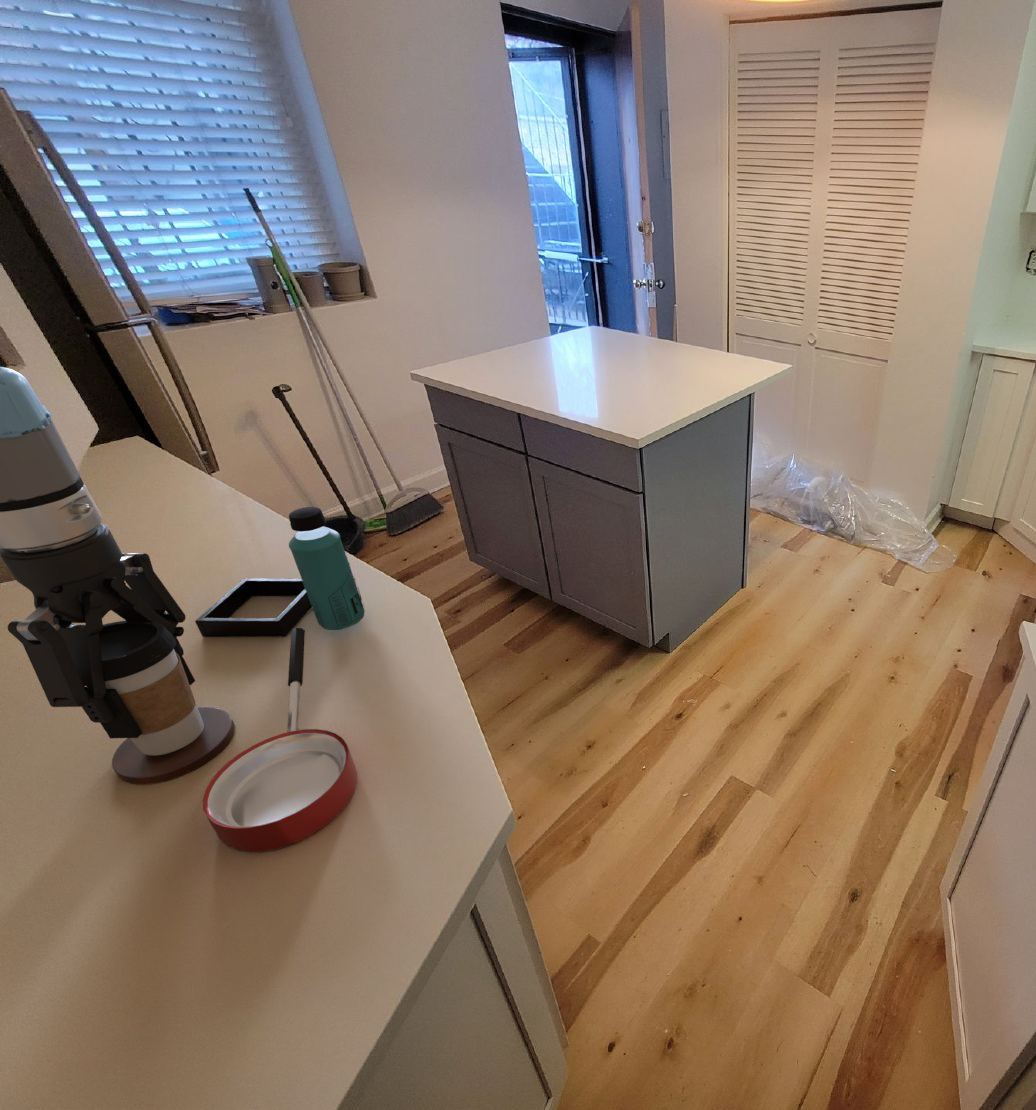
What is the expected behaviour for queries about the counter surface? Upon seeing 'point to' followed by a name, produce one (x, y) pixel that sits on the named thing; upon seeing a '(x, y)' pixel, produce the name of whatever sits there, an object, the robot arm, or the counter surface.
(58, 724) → the counter surface
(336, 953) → the counter surface
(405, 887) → the counter surface
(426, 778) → the counter surface
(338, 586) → the beverage bottle
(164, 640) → the coffee cup
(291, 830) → the frying pan
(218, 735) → the walnut coaster
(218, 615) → the black open frame
